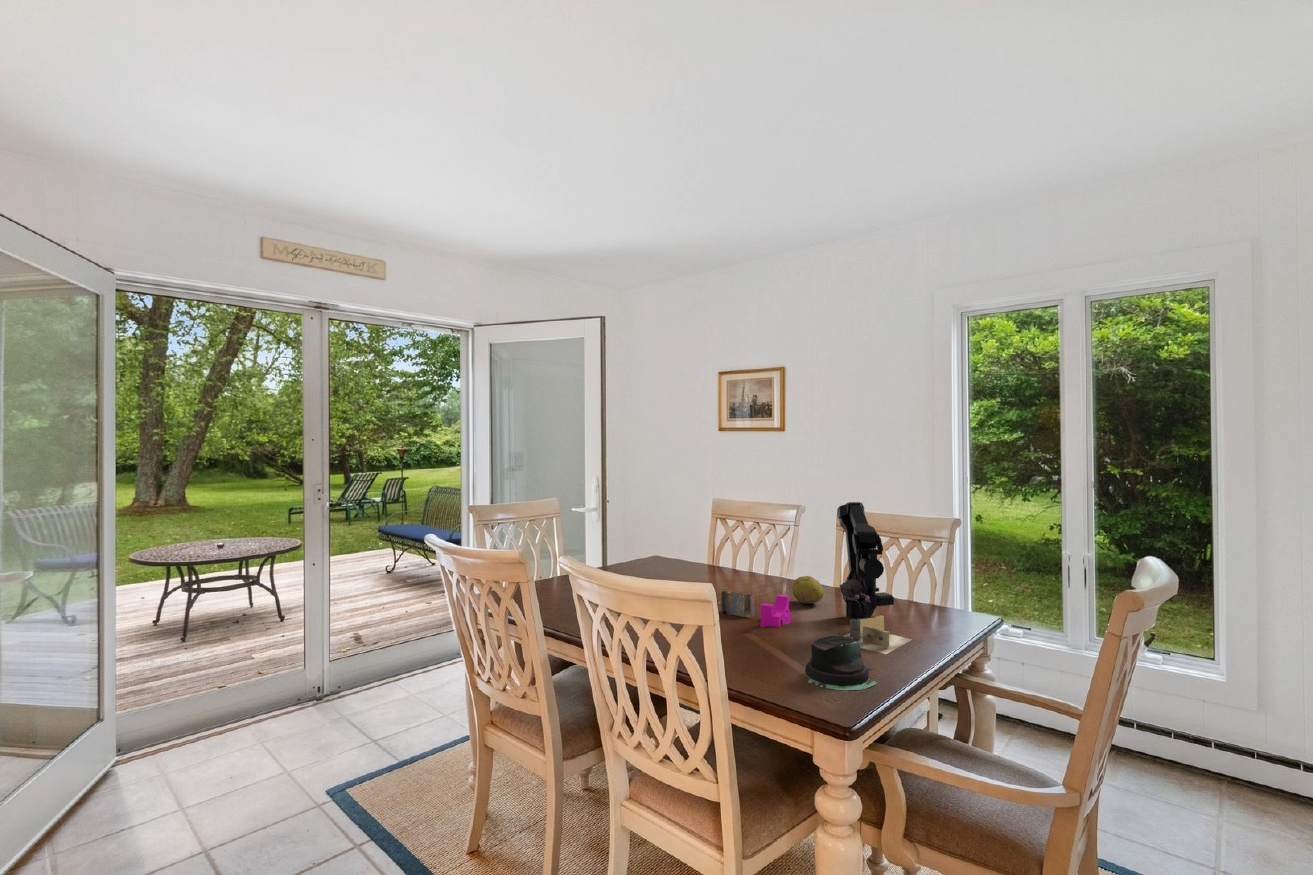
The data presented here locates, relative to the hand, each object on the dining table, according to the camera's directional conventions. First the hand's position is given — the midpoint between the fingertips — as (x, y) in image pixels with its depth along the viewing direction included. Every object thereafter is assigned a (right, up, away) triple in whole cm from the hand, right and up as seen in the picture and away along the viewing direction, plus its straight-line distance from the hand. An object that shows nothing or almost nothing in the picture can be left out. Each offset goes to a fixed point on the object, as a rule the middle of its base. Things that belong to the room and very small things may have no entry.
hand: (866, 621), depth 188 cm
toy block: (-25, -5, +12) cm, 28 cm away
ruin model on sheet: (-37, -5, +22) cm, 43 cm away
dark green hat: (-18, -5, -32) cm, 37 cm away
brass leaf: (-1, -2, -6) cm, 7 cm away
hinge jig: (-1, -4, -10) cm, 10 cm away
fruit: (-10, -4, +34) cm, 35 cm away
